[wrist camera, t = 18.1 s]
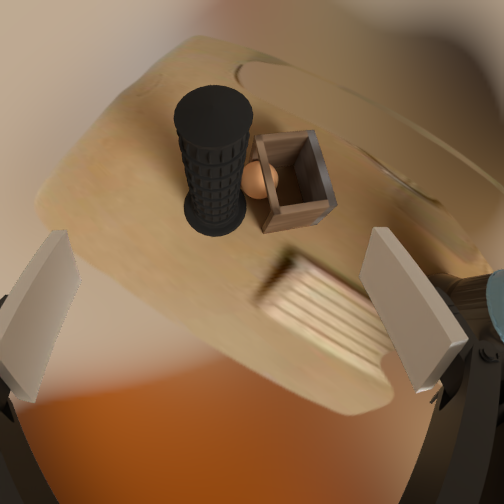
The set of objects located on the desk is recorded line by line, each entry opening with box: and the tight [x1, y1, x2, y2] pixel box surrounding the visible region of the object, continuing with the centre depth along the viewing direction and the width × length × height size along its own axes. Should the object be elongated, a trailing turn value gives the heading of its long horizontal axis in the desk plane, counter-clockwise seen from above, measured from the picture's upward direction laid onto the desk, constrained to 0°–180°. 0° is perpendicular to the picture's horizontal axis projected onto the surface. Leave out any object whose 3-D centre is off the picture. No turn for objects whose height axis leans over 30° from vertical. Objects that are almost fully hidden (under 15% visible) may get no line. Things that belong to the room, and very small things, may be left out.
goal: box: [249, 130, 337, 234], centre depth 47 cm, size 12×9×10 cm
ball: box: [240, 161, 278, 199], centre depth 49 cm, size 6×6×6 cm
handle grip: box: [174, 85, 253, 237], centre depth 37 cm, size 10×26×10 cm
